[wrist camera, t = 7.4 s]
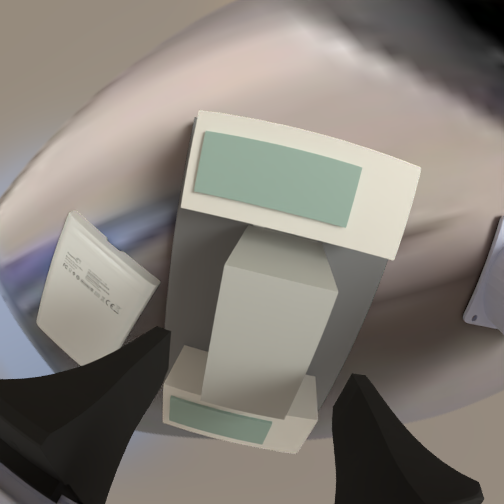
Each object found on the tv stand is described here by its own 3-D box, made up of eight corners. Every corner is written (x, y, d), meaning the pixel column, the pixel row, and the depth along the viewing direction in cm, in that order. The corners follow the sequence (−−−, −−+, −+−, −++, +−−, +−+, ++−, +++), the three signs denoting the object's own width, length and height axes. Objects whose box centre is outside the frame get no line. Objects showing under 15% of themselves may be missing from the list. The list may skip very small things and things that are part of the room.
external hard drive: (44, 314, 22) (80, 207, 18) (108, 371, 23) (165, 278, 19) (34, 322, 21) (66, 212, 17) (99, 381, 22) (155, 288, 18)
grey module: (322, 243, 15) (339, 292, 10) (288, 347, 18) (285, 420, 12) (247, 224, 16) (223, 264, 10) (224, 332, 18) (199, 400, 12)
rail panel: (407, 172, 15) (452, 180, 10) (315, 406, 20) (317, 458, 16) (200, 119, 15) (162, 105, 10) (166, 370, 21) (140, 416, 16)
